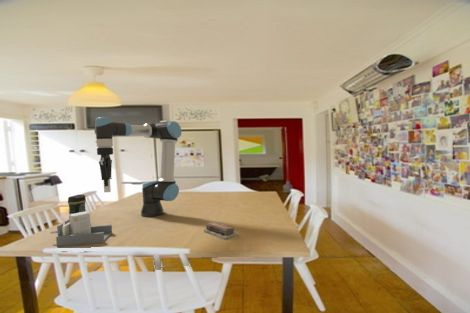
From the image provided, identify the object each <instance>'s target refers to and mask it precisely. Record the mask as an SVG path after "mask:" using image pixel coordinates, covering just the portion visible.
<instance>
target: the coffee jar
mask: <svg viewBox="0 0 470 313" xmlns="http://www.w3.org/2000/svg"><path fill="white" fill-rule="evenodd" d="M86 201H87V199H86V195H85V194H75V195H72V196H69V197H68V198H67V205H68V208H69V209H68V215H69V214H74V213H79V212H84V211H86V212H87V210H86Z"/></svg>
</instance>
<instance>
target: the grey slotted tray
mask: <svg viewBox="0 0 470 313" xmlns="http://www.w3.org/2000/svg"><path fill="white" fill-rule="evenodd" d="M69 222H70V219H69V218H68V219H66V220H65V221H64V223H60V224H58V225H56V226H57V227H56V228H57V230H56V231H58V233H57V236H55V241H56V247H63V246H64V247H66V246H77V245H78V246H79V245H90V244H100V243H102V244H103V243H105V242H106V240H107V239H109V238H110V236H111V235H112V234H113V225H112V224H105V225H104V224H103V225H91V233H87V234H74V235H63V230H62V227H63V226H64V225H66V224H67V223H69Z"/></svg>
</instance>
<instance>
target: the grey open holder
mask: <svg viewBox="0 0 470 313" xmlns="http://www.w3.org/2000/svg"><path fill="white" fill-rule="evenodd" d="M62 230H63V235H71V233H70V222H69V223H67V224H66V225H65V224H63V227H62ZM50 234H58V231H57V230H51V231H50Z"/></svg>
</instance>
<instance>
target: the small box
mask: <svg viewBox="0 0 470 313" xmlns="http://www.w3.org/2000/svg"><path fill="white" fill-rule="evenodd" d="M68 219H70V233H71V235H74V234H87V233H91V226H92V225H91V213H90V212H88V211H87V210H86V211H84V212H79V213H74V214H69V213H68Z"/></svg>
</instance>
